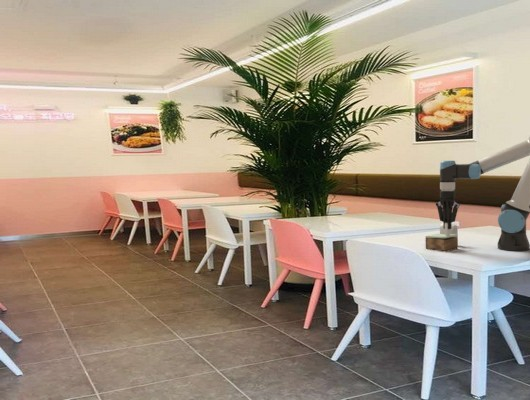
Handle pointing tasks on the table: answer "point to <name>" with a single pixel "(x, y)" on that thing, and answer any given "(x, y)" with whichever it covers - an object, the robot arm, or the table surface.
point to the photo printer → (452, 231)
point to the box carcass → (442, 243)
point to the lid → (441, 236)
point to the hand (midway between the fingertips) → (447, 234)
